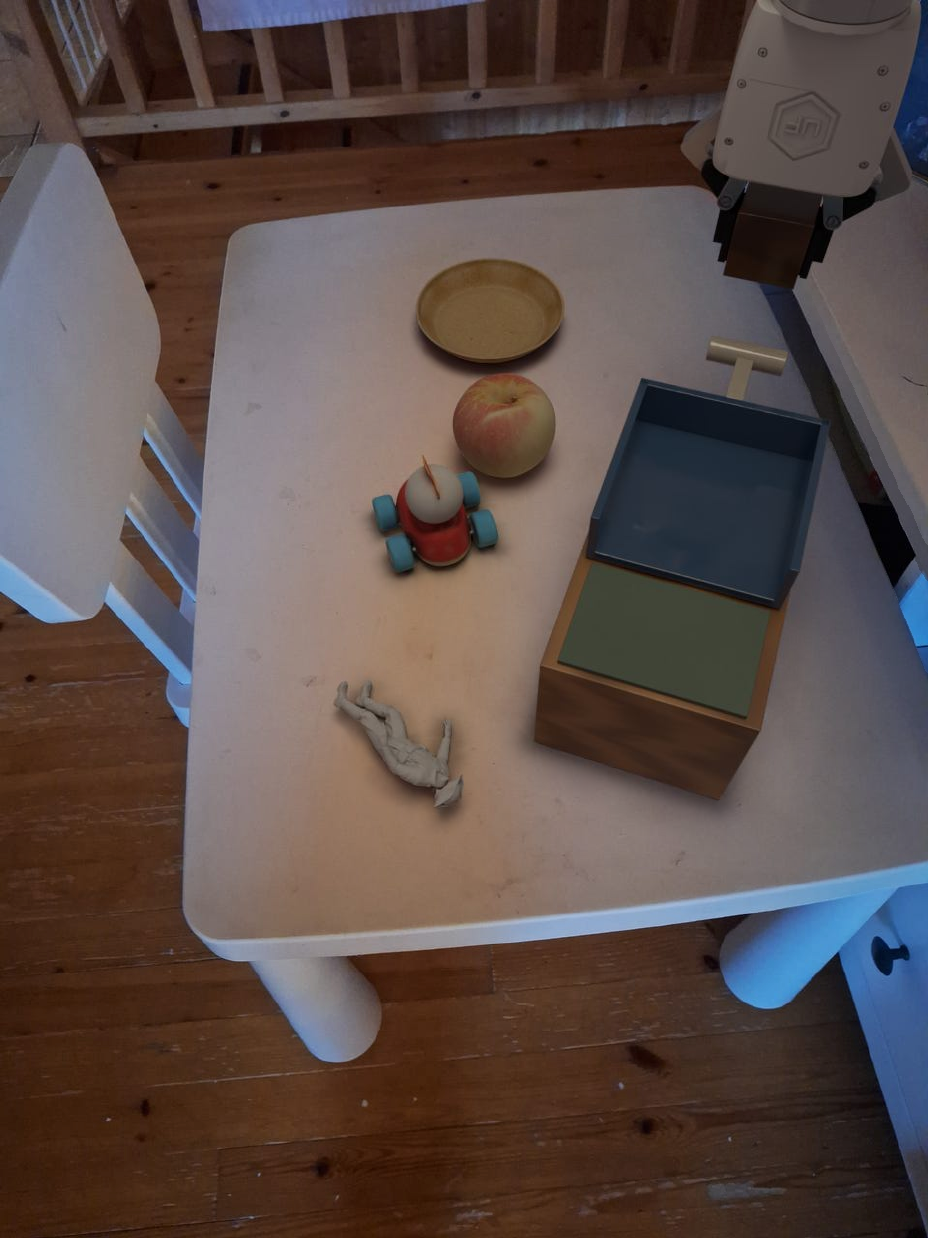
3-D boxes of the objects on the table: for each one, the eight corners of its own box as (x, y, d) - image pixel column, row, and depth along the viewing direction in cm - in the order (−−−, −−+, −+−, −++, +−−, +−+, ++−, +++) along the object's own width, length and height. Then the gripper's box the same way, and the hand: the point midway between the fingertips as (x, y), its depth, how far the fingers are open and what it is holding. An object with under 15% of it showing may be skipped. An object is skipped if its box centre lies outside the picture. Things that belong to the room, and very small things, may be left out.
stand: (775, 553, 76) (818, 457, 66) (719, 800, 65) (760, 731, 55) (613, 511, 79) (630, 413, 68) (533, 741, 68) (539, 665, 57)
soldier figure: (396, 678, 72) (507, 744, 65) (380, 733, 73) (487, 805, 66) (322, 680, 66) (434, 753, 59) (305, 740, 67) (414, 820, 60)
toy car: (469, 480, 81) (466, 400, 73) (502, 556, 77) (502, 479, 68) (371, 507, 80) (356, 428, 71) (398, 585, 75) (385, 511, 67)
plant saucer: (575, 289, 94) (577, 268, 92) (546, 388, 87) (548, 368, 84) (439, 270, 96) (437, 249, 94) (399, 365, 89) (397, 345, 87)
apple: (440, 475, 81) (435, 412, 75) (482, 409, 86) (481, 344, 79) (529, 507, 79) (532, 444, 72) (567, 438, 83) (574, 373, 76)
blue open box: (823, 407, 68) (845, 357, 64) (780, 610, 59) (802, 567, 55) (651, 369, 71) (661, 318, 66) (584, 556, 61) (591, 512, 57)
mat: (769, 614, 59) (770, 610, 58) (745, 719, 55) (747, 716, 55) (591, 565, 61) (591, 562, 61) (557, 663, 57) (557, 660, 57)
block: (805, 246, 66) (826, 182, 62) (793, 289, 64) (814, 226, 59) (736, 233, 67) (753, 169, 63) (722, 275, 65) (738, 212, 60)
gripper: (679, -17, 50) (636, 267, 65) (1008, 28, 46) (880, 317, 61) (709, -76, 53) (661, 206, 69) (1016, -39, 50) (893, 250, 65)
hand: (765, 256), depth 65 cm, fingers closed on block, 5 cm apart
